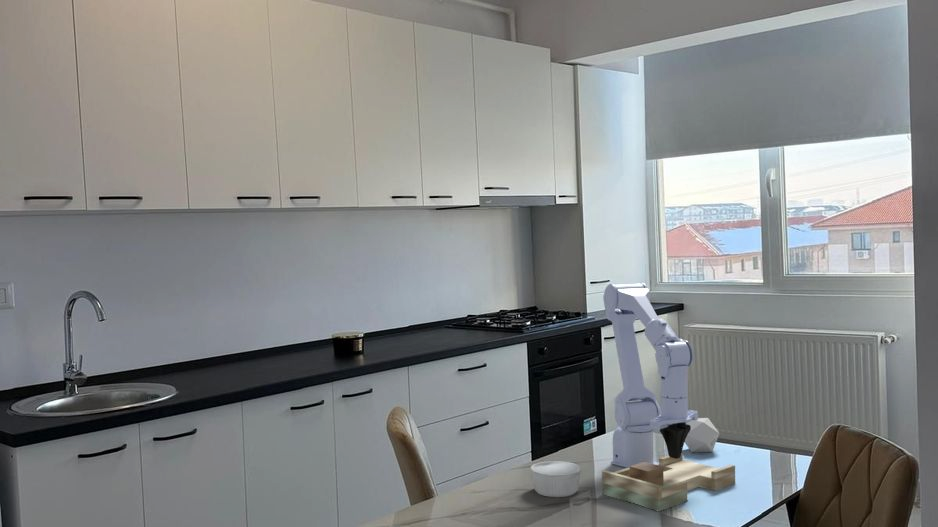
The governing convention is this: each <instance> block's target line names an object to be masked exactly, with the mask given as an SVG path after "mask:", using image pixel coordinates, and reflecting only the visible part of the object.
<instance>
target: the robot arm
mask: <svg viewBox="0 0 938 527" xmlns="http://www.w3.org/2000/svg"><path fill="white" fill-rule="evenodd" d="M650 301H651V294H650V290H649V287H648V286H647V285H646V283H644V282H638V283H636V282H635V283H617V284H616V283H615V284H614V283H609V284H608V285H606V287H605V289H604V294H603V304H604V310H605V315H606V319H607V320H608V321H610V322H611V324H612V329H613V337H614V340H615V347H616V353H617V360H618V365H619V370H620V375H621V382H622V387H623V389H622V390H621V391H620V392H619V393H618V394H617V395H616V397H615V398H614V419H615V422H616V424H617V425H618V427H616V428H615V430H614V432H613V434H612V461H610V464H612V465H616V466H618V467H619V466H620V467H623V468H625V469H626V468H629V467H630V466H633V465H636V464H639V463H643V462H647V463H651V464H655V465H659V461H654V459H655V458H654V456H655V455H654V431H655V432H660V434H661V436H662V438H663V440H664V442H665V446H666V449H667V454H668V456H669V457H671V458H675V459H678V458H680V457H681V453H683V450H684V449H683V447H684V444H685V439H686V437H687V435H688V433H689V431H690V430H691V426H690V425H687V424H686V423H688V422H691V421H692V420H698V418H699V412H698V410H692V409H689V408H688V407H689V403H688V402H689V401H688V400H689V396H688V394H689V393H688V392H689V389H688V387H689V386H688V385H689V384H688V382H689V381H688V378H689V377H688V375H689V374H688V370H689V369H688V368H689V367H690V366H691V365H692V363H693V359H694V352H693V349H692V346H691V344H690V342H689V341H688V340H685V339H683V338H679V337H678V335H677V334H676V333H675V332H674V330H673V328H672V326H670V324H669V323H668V322H667V321H666V319H664V318H659V317H658V315H657V313H656V311H655V310H654V308H653V305H652V304H651V302H650ZM636 320H639V321H640V323H641V324H642V325H643V326H644V327H645V328H644V335H645V337H646V339H647V340H648V341H649V343H650V345H651V346H652V348H653V349H654V351H655V356H654V357H655V362H656V364H657V372H658V375H659V376H660V404H659V403H658V401H657V398H656V393H655V392H653V391H652V390H650V389H648V388H647V387H646V386H645V381H644V376H643V371H642V364H641V359H640V354H639V349H638V343H637V338H636V332H635V328H634V327H635V326H634V323H635V321H636ZM688 409H689V410H688Z"/></svg>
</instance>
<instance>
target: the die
mask: <svg viewBox="0 0 938 527" xmlns="http://www.w3.org/2000/svg"><path fill="white" fill-rule="evenodd" d="M685 424H687V425H690V426H691V430H690V431H689V433H688V435H687V437H686V439H685V442H684V444H685V445H686V446H687V448H688V449H689V451H690V452H691V453H711V452H713V451H714V448H715V445H716V443H717V441H718V439H719V435H720V432H719V431H718V429H717V428H716V427H715V425H714V424H713V423H712V421H711V420H710V418H708V417H698V420H692V421H691V422H688V423H686V422H685Z"/></svg>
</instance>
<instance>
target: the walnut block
mask: <svg viewBox="0 0 938 527" xmlns="http://www.w3.org/2000/svg"><path fill="white" fill-rule="evenodd" d="M630 477H631V478H635V479H638V480H642V481H646V482H649V483H653V484H656V485H660V486H663V485H664V476H663V466H659V465H655V464H651V463H647V462H643V463H639V464H636V465H633V466H630Z"/></svg>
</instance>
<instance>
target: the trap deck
mask: <svg viewBox="0 0 938 527" xmlns="http://www.w3.org/2000/svg"><path fill="white" fill-rule="evenodd" d="M658 462H659V466H663V476H664V485H663V486H660V485H656V484H653V483H649V482H646V481H642V480H638V479H635V478H631V477H630V467H629V468H626V467H625V468H623V469H620V470H617V471H616V470H615V471H614V472H612V471H609V470H606V469H605V470H602V471H601V486H602V488H601V492H602V495H604V496H607V497H610V498H613V497H614V499H616V498H617V499H616V500H620V499H621V500H620V501H623V500H625V501H624V502H626V501H628V502H627V503H629V502H631V503H630V504H633V503H635V504H634V505H636V504H639V505H642V506H645V507H644V508H646V507H648V508H647V509H649V508H651V509H650V510H652V509H655V510H658V511H657V512H661V511H660V510H662V511H664V510H667V509H669V507H670V508H672V507H675V506H678V505H681V504H683V503H685V502H688V491H691V490H695V489H696V488H700V487H701V488H704V489H708V490H712V491H715V492H716V491H719V490H721V489H724V488H727V487H729V486H731V485H735V484H736V465H733V464H729V465H726V466H723V467H720V468H719V467H715V466H711V465H707V464H702V463H698V462H694V461H690V460H686V459H683V452H682V453H681V457H680V458H678V459H675V458H671V457H669V455H665V456H663V457H659V459H658ZM639 505H638V506H639ZM642 506H641V507H642ZM666 508H667V509H666ZM663 509H664V510H663ZM655 510H654V511H655Z"/></svg>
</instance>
